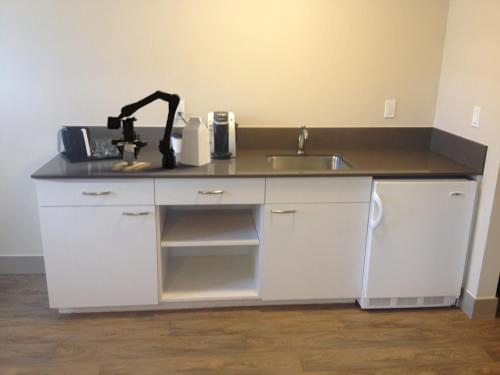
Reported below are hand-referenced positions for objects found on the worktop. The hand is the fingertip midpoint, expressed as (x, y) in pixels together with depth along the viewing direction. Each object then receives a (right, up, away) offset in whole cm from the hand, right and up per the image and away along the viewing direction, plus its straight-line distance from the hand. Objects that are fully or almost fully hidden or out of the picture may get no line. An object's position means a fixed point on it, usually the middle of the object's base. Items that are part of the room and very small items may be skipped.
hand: (130, 158), depth 243 cm
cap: (0, -1, 0) cm, 1 cm away
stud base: (0, -5, +1) cm, 5 cm away
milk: (+34, -2, +15) cm, 37 cm away
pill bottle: (-6, +2, +25) cm, 26 cm away
